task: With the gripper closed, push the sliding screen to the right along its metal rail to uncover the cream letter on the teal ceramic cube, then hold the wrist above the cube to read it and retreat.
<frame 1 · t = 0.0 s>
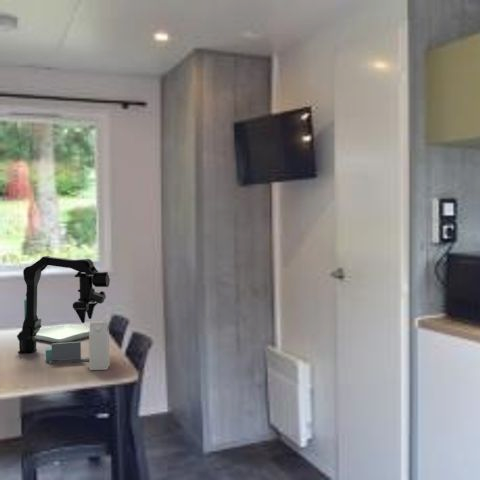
hand: (86, 320, 273), 15 cm above the table, fingers open, 9 cm apart
beverage bottle: (30, 329, 325), on the table
milk carton: (99, 368, 248), on the table
rail: (74, 361, 259), on the table
screen: (66, 350, 258), point 5 cm above the table, slide at 0.0 cm
square plate: (62, 338, 305), on the table
cube: (51, 359, 262), on the table
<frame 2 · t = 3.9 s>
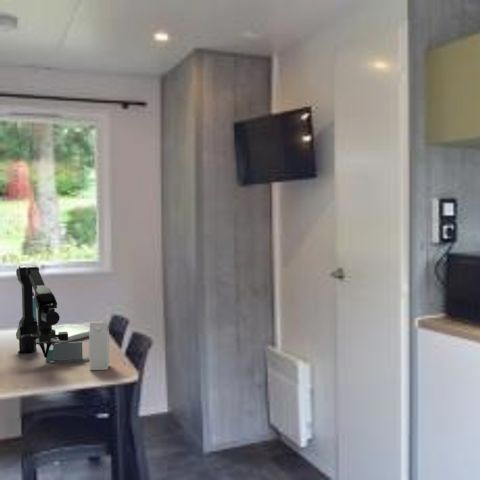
hand: (45, 357, 255), 3 cm above the table, fingers closed
screen: (67, 350, 258), point 5 cm above the table, slide at 0.7 cm, touching gripper
everything else where it was.
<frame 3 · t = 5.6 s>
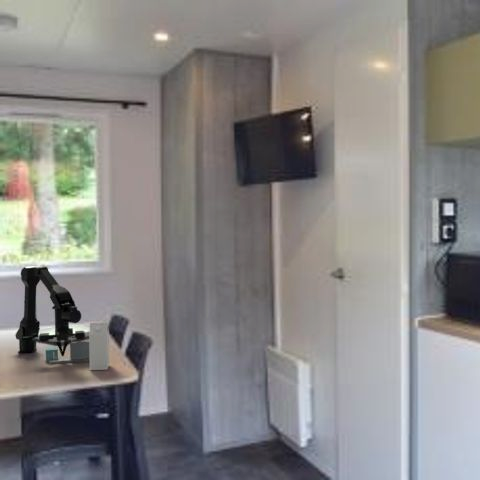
hand: (62, 356, 257), 3 cm above the table, fingers closed
screen: (84, 349, 260), point 5 cm above the table, slide at 7.6 cm, touching gripper
everything else where it was.
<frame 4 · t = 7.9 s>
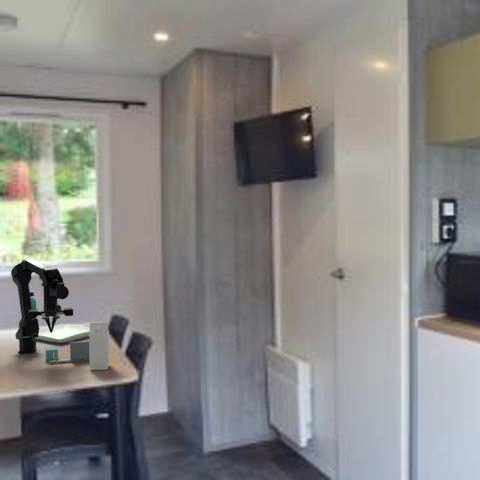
hand: (51, 332, 261), 12 cm above the table, fingers closed
screen: (84, 349, 260), point 5 cm above the table, slide at 7.6 cm
everything else where it was.
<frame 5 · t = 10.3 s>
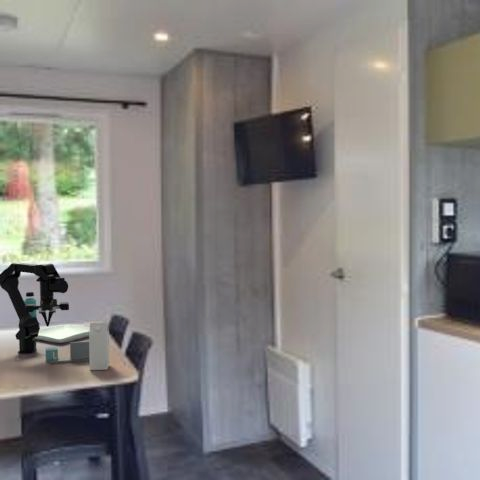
hand: (47, 326, 269), 13 cm above the table, fingers closed
nothing on the table moved.
at the end: screen slide at 7.6 cm; cube moved 0.1 cm from its start; cube tilted 0° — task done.
